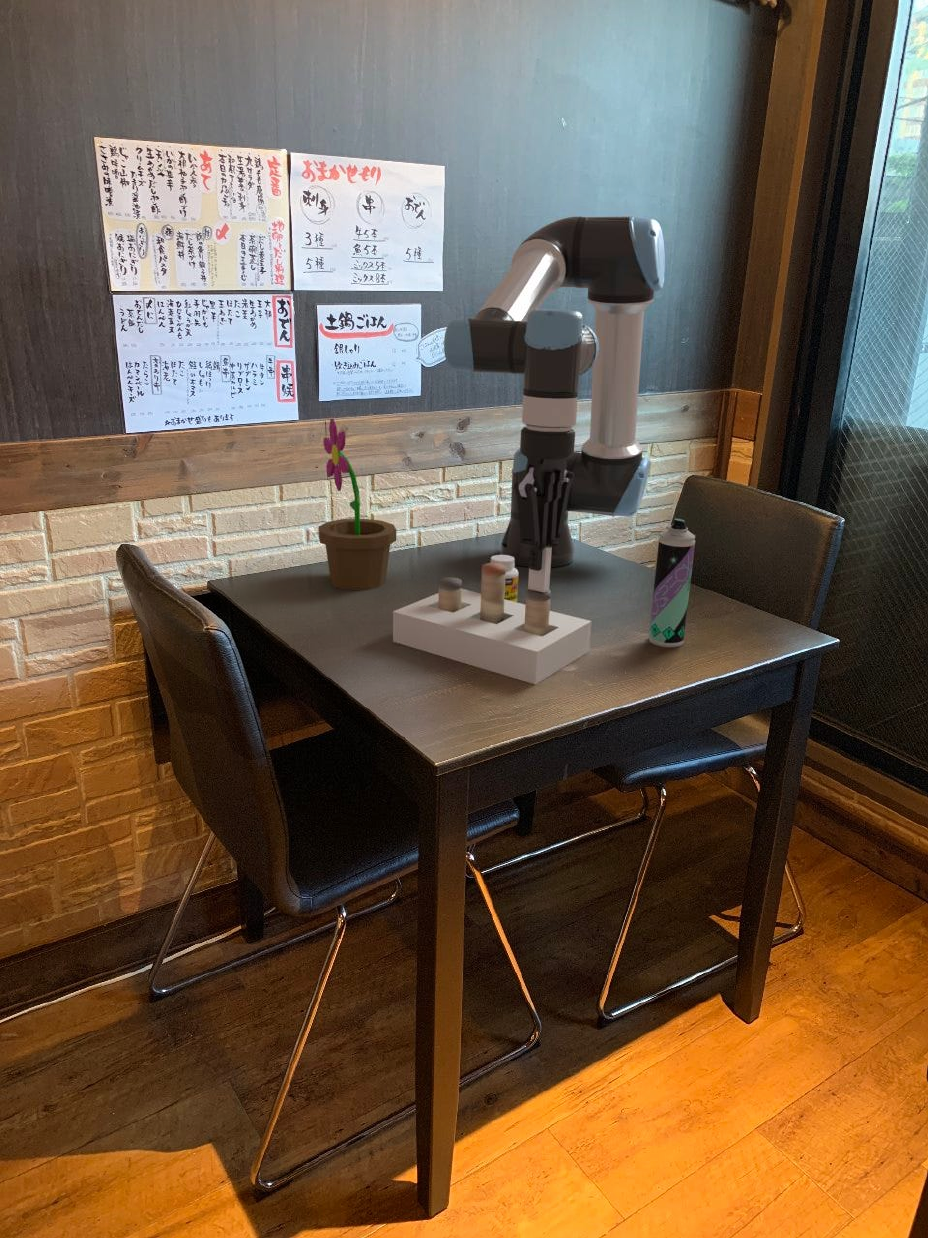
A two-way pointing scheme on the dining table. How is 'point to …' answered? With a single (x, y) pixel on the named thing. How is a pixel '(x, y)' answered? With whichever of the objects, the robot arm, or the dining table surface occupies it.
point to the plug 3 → (537, 612)
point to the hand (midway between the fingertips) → (538, 589)
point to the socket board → (492, 637)
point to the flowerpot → (353, 532)
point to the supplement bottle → (508, 576)
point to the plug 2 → (492, 592)
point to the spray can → (672, 585)
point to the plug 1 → (450, 594)
